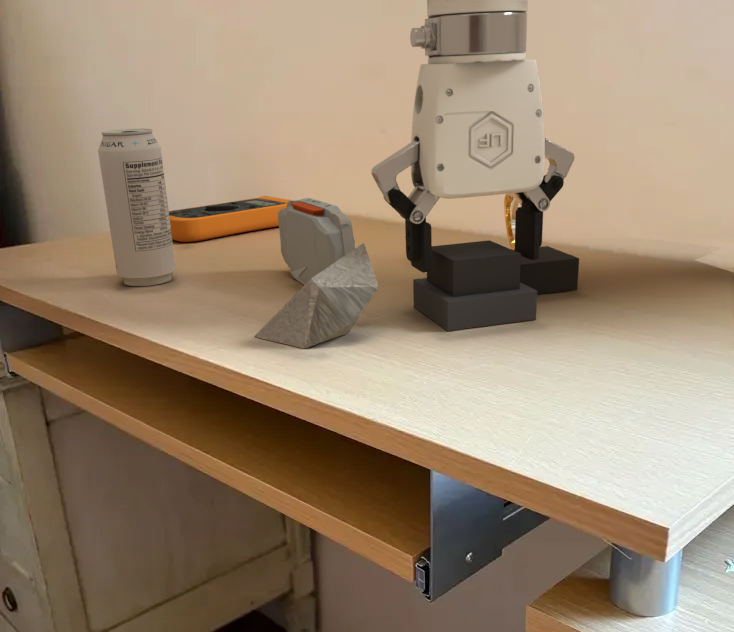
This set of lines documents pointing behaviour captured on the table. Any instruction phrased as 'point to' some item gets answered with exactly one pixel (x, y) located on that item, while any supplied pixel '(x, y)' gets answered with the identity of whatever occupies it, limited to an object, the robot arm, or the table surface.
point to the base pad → (474, 306)
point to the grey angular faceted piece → (325, 303)
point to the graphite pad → (550, 271)
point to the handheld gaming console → (313, 236)
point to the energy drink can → (137, 206)
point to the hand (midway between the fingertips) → (474, 262)
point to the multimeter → (225, 218)
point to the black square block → (474, 268)
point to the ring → (511, 216)
